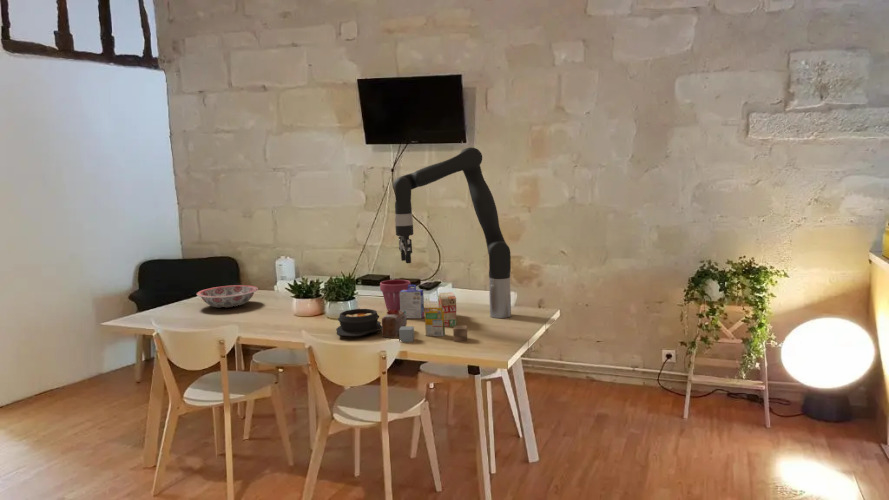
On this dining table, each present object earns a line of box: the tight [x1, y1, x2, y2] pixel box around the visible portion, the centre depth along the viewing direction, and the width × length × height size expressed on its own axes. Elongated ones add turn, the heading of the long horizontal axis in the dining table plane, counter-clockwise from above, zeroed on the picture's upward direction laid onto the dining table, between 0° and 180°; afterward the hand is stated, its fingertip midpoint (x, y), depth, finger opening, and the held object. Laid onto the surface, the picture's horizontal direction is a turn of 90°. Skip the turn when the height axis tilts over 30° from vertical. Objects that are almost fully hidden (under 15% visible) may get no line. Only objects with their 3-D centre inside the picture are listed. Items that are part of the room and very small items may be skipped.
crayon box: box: [424, 307, 446, 337], centre depth 274 cm, size 7×3×12 cm, turn 78°
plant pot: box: [379, 279, 412, 311], centre depth 324 cm, size 14×14×13 cm
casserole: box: [335, 308, 382, 337], centre depth 283 cm, size 25×19×8 cm
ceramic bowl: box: [196, 284, 259, 308], centre depth 342 cm, size 29×29×8 cm
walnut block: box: [453, 325, 468, 342], centre depth 267 cm, size 5×5×5 cm
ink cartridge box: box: [400, 284, 425, 319], centre depth 305 cm, size 10×6×14 cm, turn 78°
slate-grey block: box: [398, 325, 415, 343], centre depth 268 cm, size 5×5×5 cm
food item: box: [381, 310, 408, 338], centre depth 279 cm, size 14×8×10 cm, turn 169°
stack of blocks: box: [437, 291, 458, 328], centre depth 297 cm, size 21×6×12 cm, turn 5°
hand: (406, 261), depth 295 cm, fingers open, 8 cm apart
